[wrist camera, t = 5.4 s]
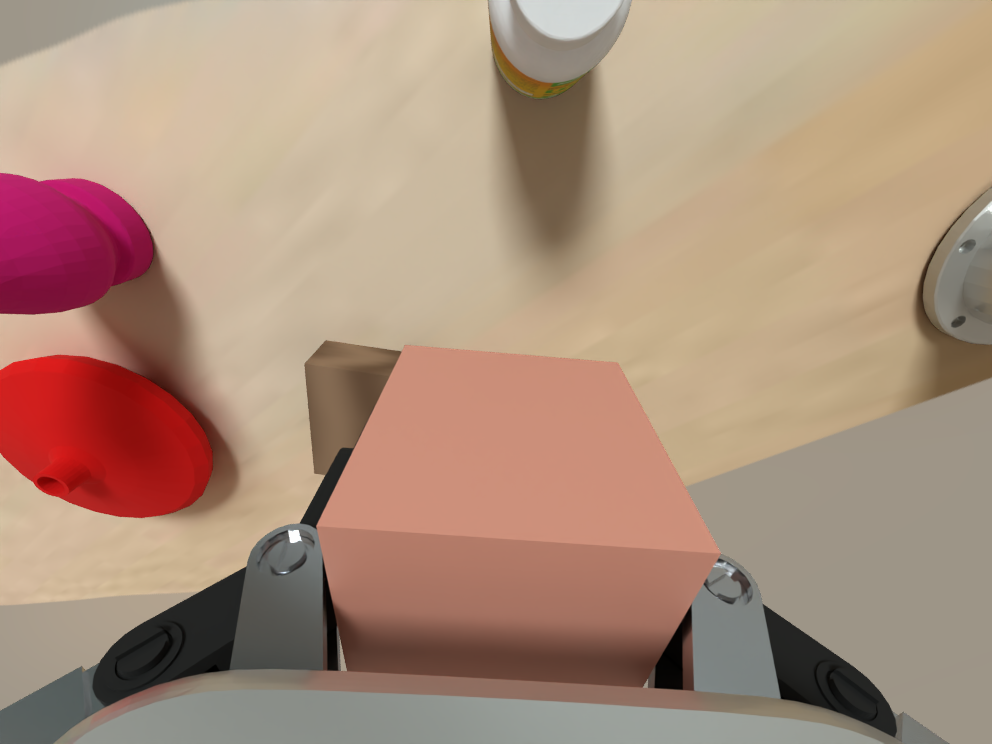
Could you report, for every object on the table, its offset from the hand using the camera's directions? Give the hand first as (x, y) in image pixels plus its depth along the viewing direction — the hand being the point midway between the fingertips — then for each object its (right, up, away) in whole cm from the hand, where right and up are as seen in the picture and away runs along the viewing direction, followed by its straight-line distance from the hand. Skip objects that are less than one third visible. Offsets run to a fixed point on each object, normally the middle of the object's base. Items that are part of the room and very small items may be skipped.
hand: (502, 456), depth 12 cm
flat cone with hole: (-31, -2, +22) cm, 38 cm away
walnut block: (-9, 0, +21) cm, 22 cm away
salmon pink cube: (0, 0, +1) cm, 1 cm away
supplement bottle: (+2, +20, +9) cm, 22 cm away
